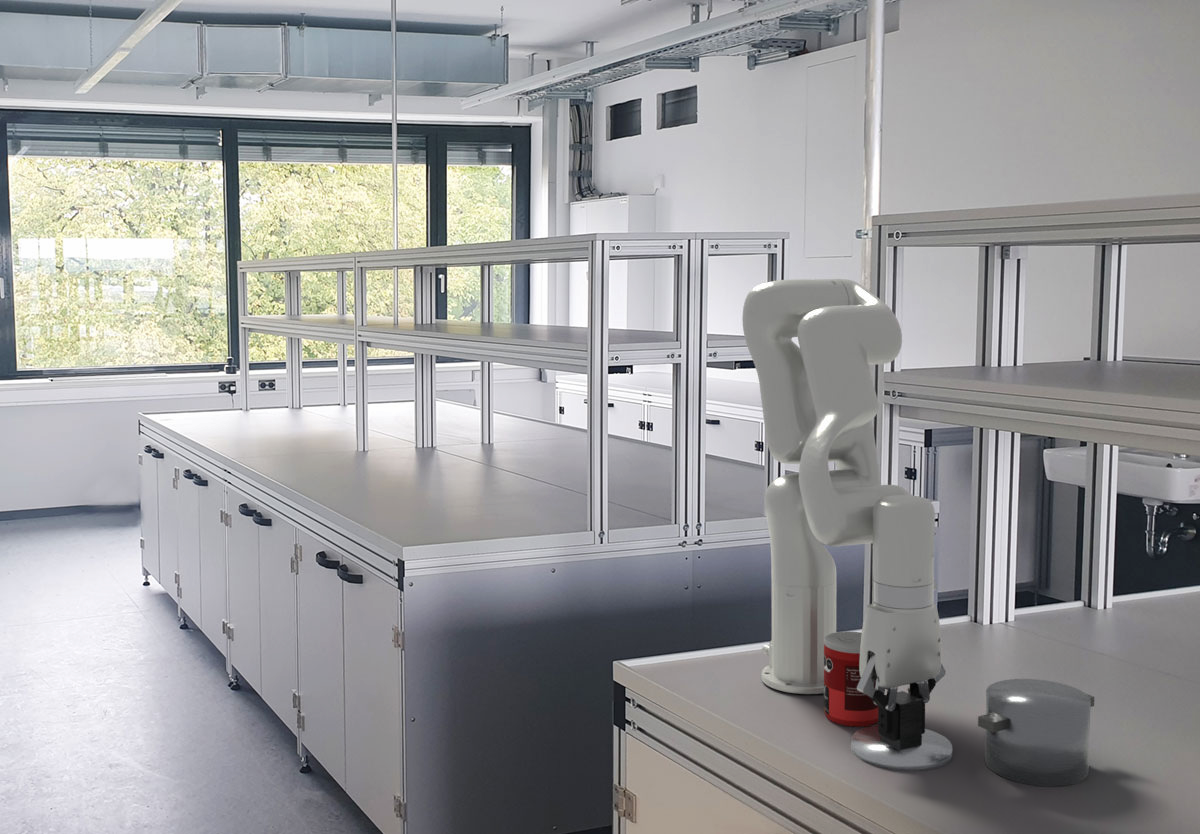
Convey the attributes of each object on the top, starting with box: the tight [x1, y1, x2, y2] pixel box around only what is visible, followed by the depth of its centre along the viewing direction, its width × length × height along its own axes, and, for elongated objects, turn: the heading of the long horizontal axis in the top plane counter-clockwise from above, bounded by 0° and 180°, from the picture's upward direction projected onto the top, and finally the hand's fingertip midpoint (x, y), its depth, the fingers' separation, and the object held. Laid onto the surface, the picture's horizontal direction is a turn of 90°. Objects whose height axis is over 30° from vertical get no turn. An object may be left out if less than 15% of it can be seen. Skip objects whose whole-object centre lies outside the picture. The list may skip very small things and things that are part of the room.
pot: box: [977, 678, 1095, 788], centre depth 146 cm, size 12×17×9 cm
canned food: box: [823, 631, 878, 728], centre depth 163 cm, size 8×8×11 cm
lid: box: [850, 690, 953, 772], centre depth 152 cm, size 13×13×7 cm
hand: (901, 732), depth 152 cm, fingers closed on lid, 3 cm apart
